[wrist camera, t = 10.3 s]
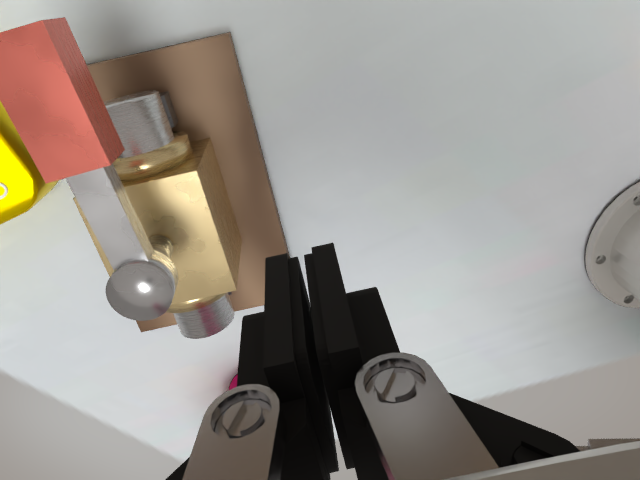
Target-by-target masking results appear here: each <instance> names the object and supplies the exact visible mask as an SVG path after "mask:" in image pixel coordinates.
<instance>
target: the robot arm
mask: <svg viewBox="0 0 640 480" xmlns="http://www.w3.org/2000/svg"><path fill="white" fill-rule="evenodd" d="M304 258H305V266H306V274H307V282H308V290H309V297H310V302H309V298H308V295H307V291H306V287H305V283H304V279H303V275H302V271H301V267H300V263H299V260H298V257H294V258H289V255H288V253H285V254H280V255H276V256H271V257H267V258H266V259H265V304H264V312H260V313H256V314H251V315H247V316H244V317H243V320H242V330H241V342H240V353H239V365H238V376H237V387H235V388H233V389H231V390H229V391H226V392H225V393H223V394H222V395H221V396H219V397H218V398H216V399H215V401H214V402H213V403H212V404H211V405H210V406H209V407H208V409H207V411H206V413H205V415H204V417H203V420H202V423H201V426H200V429H199V432H198V435H197V438H196V441H195V444H194V447H193V450H192V452H191V455H190V457H189V458H188V459H187V460H186V461H185V462H184V463H183V464H182V465H181V466H180V467H178V468H177V469H176V470H175V471H174V472H173V473H172V474H171V475H170V476H169V477H168V478H167V479H166V480H330V473H332V472H336V471H339V468H338V461H337V453H336V447H335V439H334V432H333V425H332V418H331V412H332V416H333V419H334V423H335V427H336V431H337V435H338V438H339V442H340V446H341V450H342V453H343V457H344V461H345V465H346V468H347V469H350V468H355V470H356V473H357V478H358V480H640V439H639V438H637V439H588V446H574V445H573V444H572V443H571V442H570V441H568V440H566V439H564V438H562V437H560V436H558V435H556V434H554V433H551V432H549V431H546V430H543V429H541V428H538V427H536V426H533V425H531V424H528V423H526V422H523V421H520V420H518V419H515V418H513V417H510V416H507V415H505V414H502V413H500V412H497V411H494V410H492V409H489V408H487V407H484V406H482V405H479V404H477V403H474V402H471V401H469V400H466V399H464V398H461V397H459V396H456V395H453V394H451V393H448V391H447V390H446V388H445V387H444V385H443V384H442V382H441V381H440V380H439V378H438V377H437V375H436V374H435V372H434V371H433V369H432V368H431V367H430V365H429V364H428V363H427V362H426V361H425V360H423V359H421V358H419V357H417V356H415V355H412V354H407V353H400V351H399V348H398V345H397V343H396V340H395V337H394V334H393V331H392V329H391V326H390V323H389V320H388V317H387V315H386V312H385V309H384V306H383V303H382V301H381V298H380V295H379V292H378V290H377V288H376V287H373V288H369V289H364V290H360V291H355V292H350V293H346V292H345V288H344V284H343V280H342V276H341V272H340V268H339V264H338V260H337V256H336V252H335V248H334V244H333V243H330V244H325V245H321V246H316V247H312V254H307V255H304ZM585 262H586V270H587V273H588V276H589V279H590V281H591V282H592V284H593V285H594V286H595V288H596V289H597V290H598V291H599V292H600V293H601V294H602V295H603V296H605V297H606V298H607V299H609V300H610V301H612V302H614V303H615V304H618V305H621V306H624V307H631V308H640V182H638V183H637V184H635V185H633V186H631V187H630V188H629V189H627V190H626V191H625V192H623V193H622V194H621V195H620V196H618V197H617V198H616V199H615V200H614V201H613V202H612V203H611V204H610V205H609V206H608V207H607V208H606V210H605V211H604V212H603V214H602V215H601V217H600V218H599V219H598V221H597V222H596V224H595V226H594V228H593V230H592V232H591V234H590V237H589V241H588V244H587V247H586V257H585ZM310 305H311V306H310ZM330 408H331V411H330Z"/></svg>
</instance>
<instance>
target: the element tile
mask: <svg viewBox="0 0 640 480" xmlns="http://www.w3.org/2000/svg"><path fill="white" fill-rule="evenodd" d="M58 181H59V180H57V181H53V182H50V183H45V181H44V179H43V177H42V176H41V174H40V172H39V170H38V168H37V166H36V165H35V163H34V161H33V159H32V157H31V155H30V154H29V152H28V150H27V148H26V146H25V145H24V143H23V141H22V139H21V137H20V135H19V134H18V132H17V130H16V128H15V126H14V124H13V123H12V121H11V119H10V117H9V115H8V114H7V112H6V110H5V108H4V106H3V104H2V103H1V101H0V224H2V223H4V222H6V221H9V220H11V219H13V218H15V217H17V216H19V215H21V214H23V213H25V212H27V211H28V210H30V209H31V208H32V207H33V206H34V205H35V204H36V203H37V202H38V201H40V200H41V199H42V198H43V197H44V196H45V195H46V194H47V193H48V192H49V191H50V190H52V189H53V187H54V186H55V185H56V183H57V182H58Z"/></svg>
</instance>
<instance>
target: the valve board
mask: <svg viewBox="0 0 640 480" xmlns="http://www.w3.org/2000/svg"><path fill="white" fill-rule="evenodd" d="M87 67H88V69H89V71H90V74H91V76H92V78H93V80H94V82H95V85H96V87H97V89H98V91H99V94H100V96H101V98H102V100H103V102H105V101H108V100H111V99H115V98H118V97H122V96H126V95H130V94H134V93H139V92H144V91H152V90H157V91H158V92H159V93H162V92H167V91H168V92H169V95H170V98H171V101H172V104H173V107H174V109H175V112H176V115H177V118H178V123H177V124H176V126H175V127H172V128H171V129H172V131H183V132H186V133H187V135H188V138H189V141H190V142H193V141H197V140H202V139H206V138H211V142H212V145H213V148H214V151H215V155H216V158H217V161H218V164H219V167H220V171H221V174H222V177H223V180H224V184H225V187H226V190H227V193H228V196H229V200H230V203H231V206H232V209H233V213H234V216H235V219H236V222H237V225H238V229H239V232H240V235H241V238H242V246H241V255H240V264H239V272H238V281H237V290H236V291H232V295H229V298H230V301H231V304H232V306H233V309H234V311H239V310H243V309H248V308H253V307H257V306H262V305H264V304H265V259H266V258H267V257H271V256H276V255H280V254H285V253H288V255H289V252H288V248H287V245H286V241H285V237H284V233H283V229H282V226H281V222H280V218H279V214H278V211H277V207H276V203H275V199H274V196H273V192H272V188H271V184H270V180H269V177H268V173H267V169H266V165H265V162H264V158H263V154H262V150H261V147H260V143H259V139H258V135H257V131H256V128H255V124H254V120H253V116H252V113H251V109H250V105H249V101H248V97H247V94H246V90H245V86H244V82H243V79H242V75H241V71H240V67H239V64H238V60H237V56H236V52H235V48H234V45H233V41H232V37H231V33H230V32H229V33H224V34H220V35H216V36H211V37H207V38H202V39H198V40H194V41H189V42H185V43H181V44H176V45H172V46H167V47H163V48H159V49H154V50H150V51H145V52H141V53H137V54H132V55H128V56H124V57H119V58H115V59H110V60H106V61H102V62H97V63H93V64H89V65H87ZM289 258H290V256H289ZM136 322H137V324H138V326H139V328H140V330H141V332H144V331H149V330H153V329H158V328H162V327H167V326H171V325H176V324H177V322H176V319H175V317H174V315H173V313H168V312H165V313H164V314H163V315H161V316H160V317H158V318H155V319H152V320H146V321H138V320H136Z"/></svg>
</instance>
